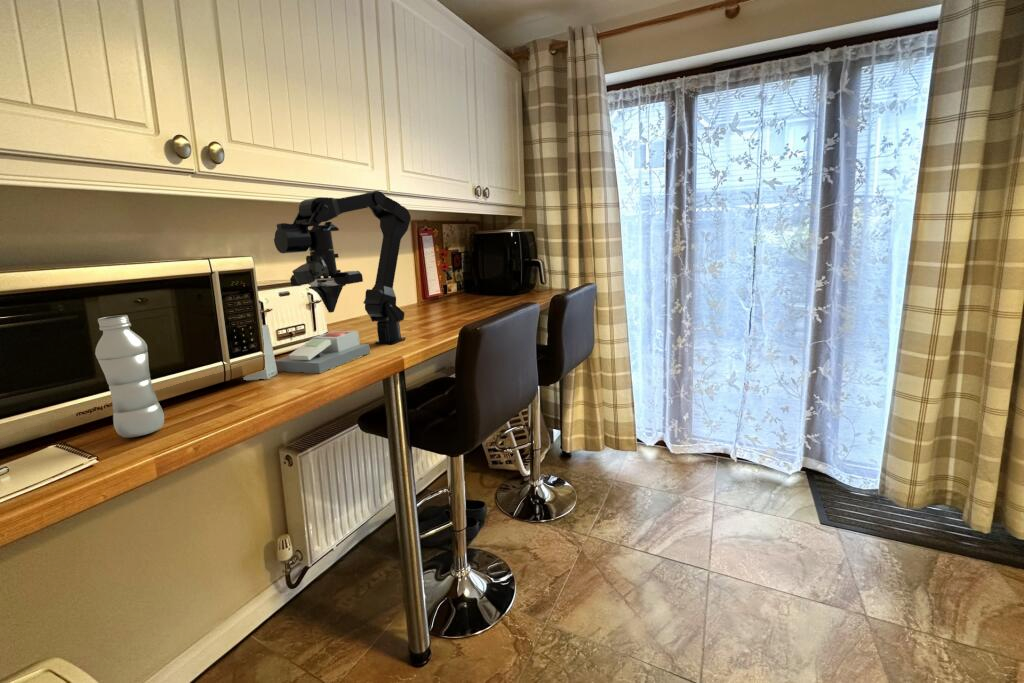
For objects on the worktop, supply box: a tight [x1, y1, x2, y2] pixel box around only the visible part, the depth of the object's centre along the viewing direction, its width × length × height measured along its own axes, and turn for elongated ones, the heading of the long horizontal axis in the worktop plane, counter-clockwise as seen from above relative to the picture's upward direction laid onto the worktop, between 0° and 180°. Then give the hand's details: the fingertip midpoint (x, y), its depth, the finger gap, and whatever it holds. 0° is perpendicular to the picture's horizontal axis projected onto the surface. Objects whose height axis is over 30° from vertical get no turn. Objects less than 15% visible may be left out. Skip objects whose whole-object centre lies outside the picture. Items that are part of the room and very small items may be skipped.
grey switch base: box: [275, 330, 371, 374], centre depth 119 cm, size 18×14×6 cm
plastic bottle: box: [94, 314, 165, 439], centre depth 77 cm, size 6×7×20 cm
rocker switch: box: [287, 339, 331, 360], centre depth 115 cm, size 8×6×1 cm
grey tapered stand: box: [242, 324, 279, 381], centre depth 108 cm, size 6×4×12 cm
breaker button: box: [325, 331, 346, 337], centre depth 123 cm, size 5×5×4 cm
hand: (331, 312), depth 121 cm, fingers closed
